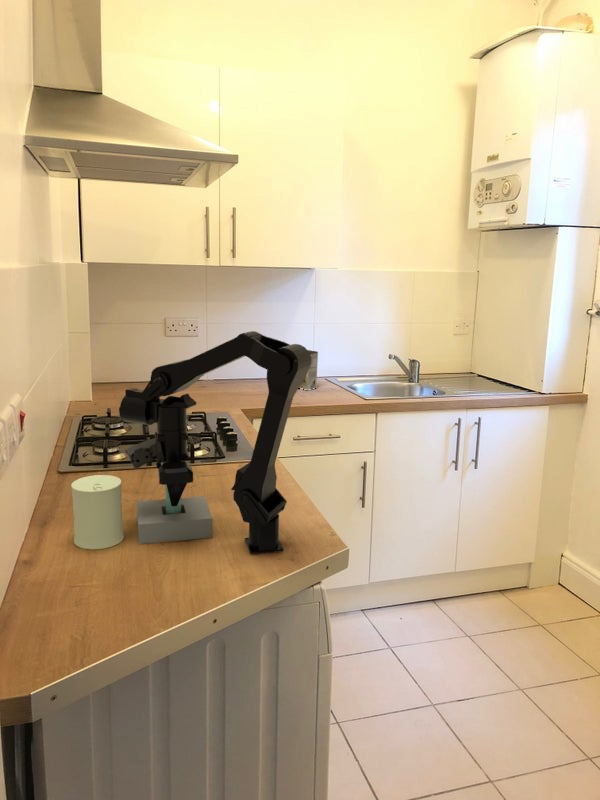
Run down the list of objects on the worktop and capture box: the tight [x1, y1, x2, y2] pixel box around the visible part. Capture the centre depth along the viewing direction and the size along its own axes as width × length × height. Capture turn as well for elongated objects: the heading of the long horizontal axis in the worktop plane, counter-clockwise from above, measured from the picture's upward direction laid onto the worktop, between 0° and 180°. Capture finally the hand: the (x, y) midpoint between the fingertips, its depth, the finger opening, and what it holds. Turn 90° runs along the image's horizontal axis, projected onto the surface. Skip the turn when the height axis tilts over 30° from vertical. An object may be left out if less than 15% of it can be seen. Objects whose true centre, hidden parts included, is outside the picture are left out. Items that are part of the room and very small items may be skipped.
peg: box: [164, 485, 182, 515], centre depth 129 cm, size 3×3×10 cm
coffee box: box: [299, 349, 319, 390], centre depth 268 cm, size 9×6×16 cm
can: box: [70, 474, 125, 551], centre depth 123 cm, size 9×9×12 cm
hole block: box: [136, 495, 213, 545], centre depth 130 cm, size 12×14×4 cm
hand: (173, 502), depth 129 cm, fingers open, 3 cm apart
